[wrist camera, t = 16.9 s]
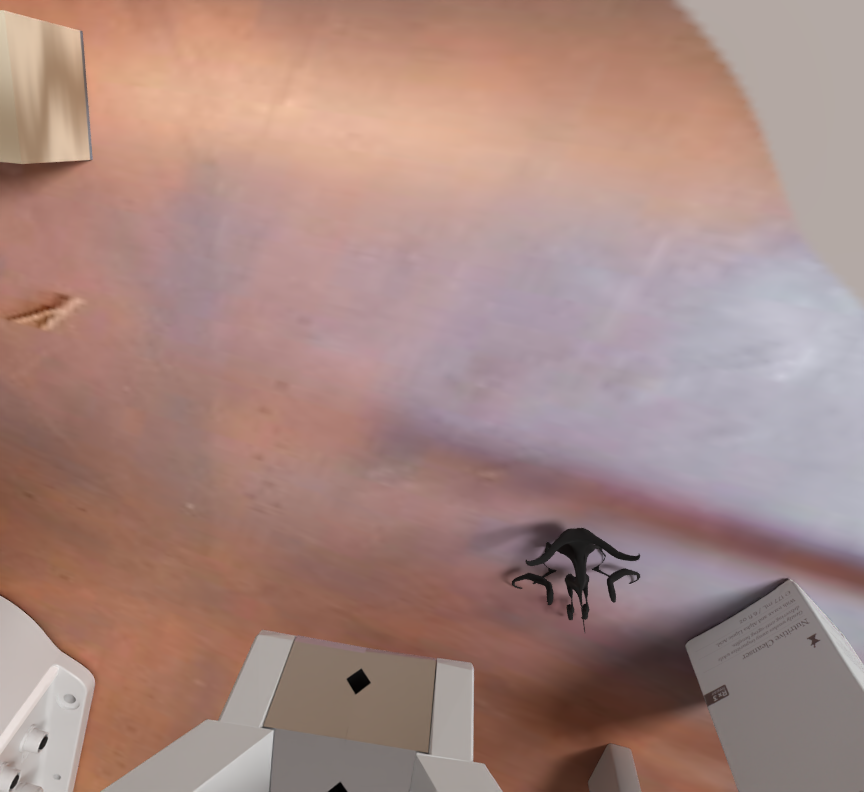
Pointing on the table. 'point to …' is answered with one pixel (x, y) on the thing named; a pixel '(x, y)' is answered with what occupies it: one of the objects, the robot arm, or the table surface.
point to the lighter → (615, 771)
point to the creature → (578, 566)
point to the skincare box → (784, 696)
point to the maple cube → (42, 92)
